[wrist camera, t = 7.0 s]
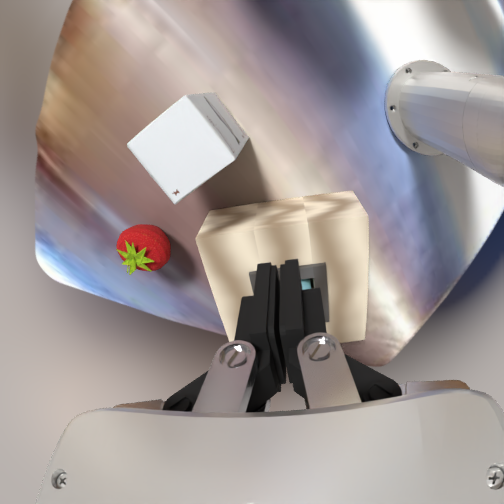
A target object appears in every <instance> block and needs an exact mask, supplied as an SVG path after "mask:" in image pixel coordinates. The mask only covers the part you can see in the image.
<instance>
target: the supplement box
mask: <svg viewBox="0 0 504 504" xmlns="http://www.w3.org/2000/svg"><path fill="white" fill-rule="evenodd" d="M248 139H249V136H248V135H247V134H246V133H245V131H244V130H243V129H242V128H241V127H240V125H239V124H238V123H237V121H236V120H235V119H234V118H233V116H232V115H231V114H230V112H229V111H228V109H227V108H226V107H225V106H224V104H223V103H222V101H221V100H220V99H219V97H218V96H217V94H216V93H202V94H191V95H184V96H183V97H182V98H181V99H180V100H178V101H177V102H176V103H175V104H173V105H172V106H171V107H170V108H168V109H167V110H166V111H165V112H163V113H162V114H161V115H160V116H158V117H157V118H156V119H155V120H154V121H152V122H151V123H150V124H149V125H148V126H147V127H145V128H144V129H143V130H142V131H141V132H140V133H139V134H137V135H136V136H135V137H134V138H133V139H132V140H131V141H130V142H129V143H128V144H127V146H128V148H129V149H130V150H131V151H132V153H133V154H134V155H135V156H136V158H137V159H138V160H139V161H140V163H141V164H142V165H143V166H144V168H145V169H146V170H147V171H148V173H149V174H150V175H151V177H152V178H153V179H154V180H155V181H156V182H157V184H158V185H159V186H160V187H161V188H162V190H163V191H164V192H165V193H166V195H167V196H168V197H169V198H170V199H171V201H172V202H173V203H174V204H177V203H178V202H180V201H181V200H182V199H183V198H185V197H186V196H187V195H189V194H190V193H191V192H193V191H194V190H195V189H197V188H198V187H199V186H201V185H202V184H203V183H205V182H206V181H207V180H209V179H210V178H211V177H213V176H214V175H215V174H217V173H218V172H219V171H221V170H222V169H223V168H225V167H226V166H227V165H229V164H230V163H232V162H233V161H234V160H236V158H237V156H238V155H239V153H240V152H241V150H242V148H243V147H244V145H245V143H246V142H247V140H248Z"/></svg>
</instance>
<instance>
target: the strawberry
mask: <svg viewBox="0 0 504 504" xmlns="http://www.w3.org/2000/svg"><path fill="white" fill-rule="evenodd" d="M170 249H171V247H170V241H169V239H168V238H167V236H166V235H165V233H164V232H163V231H162V230H161V229H160V228H159V227H157V226H154V225H142V224H140V225H135V226H133V227H131V228H128V229H126V230H125V231H123V232H122V233H121V234H120V236H119V239H118V241H117V249H116V250H117V251H118V253H119V255H120V257H121V258H122V259H123V261H124V262H123V263H122V264H124V265H128V266H130V273H129V275H131V274H132V273H133V272H134V271H135V270H136V269H138V270H143V271H150V272H151V271H154V270H158V269H160V268H161V267H163V266H164V265H165V264H166V263H167V262H168V260H169V259H170ZM127 273H128V268H127Z"/></svg>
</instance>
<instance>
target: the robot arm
mask: <svg viewBox="0 0 504 504" xmlns="http://www.w3.org/2000/svg"><path fill="white" fill-rule="evenodd" d="M406 70H407V71H408V72H407V73H406ZM390 106H392V110H390ZM385 112H386V116H387V120H388V122H389V125H390V127H391V129H392V131H393V132H394V134H395V135H396V137H397V138H398V139H399V140H400V141H401V142H402V143H403V144H404V145H405V146H407V147H408V148H410V149H411V150H413V151H415V152H417V153H420V154H423V155H428V156H436V155H441V154H446V155H448V156H450V157H452V158H453V159H455V160H457V161H459V162H461V163H462V164H464V165H466V166H468V167H469V168H471V169H473V170H474V171H476V172H478V173H479V174H481V175H483V176H484V177H486V178H488V179H490V180H491V181H493V182H494V183H496V184H498V185H501V186H503V187H504V76H502V75H491V74H479V73H461V72H451V71H450V70H449V69H447V68H446V67H444V66H443V65H441V64H438V63H436V62H433V61H428V60H419V61H412V62H409V63H407V64H405V65H403V66H402V67H400V68H399V69H397V71H396V72H395V73H394V74H393V75H392V77H391V79H390V81H389V83H388V85H387V89H386V92H385ZM413 143H414V145H413ZM286 367H287V372H288V377H289V382H290V383H293V387H294V391H295V392H296V393H297V394H299V395H300V396H302V397H303V398H304V399H305V405H306V409H304V410H292V411H276V412H269V408H270V401H271V400H270V398H271V397H272V396H274V395H275V394H276V393H277V392H281V384H285V383H286ZM36 504H504V412H503V410H502V409H501V407H500V406H499V404H498V403H497V402H496V400H494V399H493V398H492V397H491V396H490V395H488V394H486V393H484V392H480V391H476V390H470V388H469V387H468V386H467V384H466V383H463V382H462V381H459V380H444V381H409V382H406V384H398V383H396V382H395V381H394V380H392V379H390V378H388V377H386V376H384V375H383V374H381V373H379V372H377V371H375V370H373V369H371V368H369V367H368V366H366V365H364V364H362V363H360V362H358V361H356V360H355V359H353V358H351V357H349V356H347V355H345V354H344V353H343V350H342V347H341V345H340V342H339V341H338V339H337V338H336V337H334V336H333V335H331V334H328V333H327V331H326V323H325V316H324V309H323V303H322V296H321V290H320V288H312V289H304V290H302V283H301V275H300V268H299V261H298V259H291V260H285V264H280V280H279V275H278V270H277V265H272V264H271V262H268V263H260V264H257V271H256V279H255V287H254V295H253V296H243V297H242V299H241V304H240V309H239V315H238V321H237V327H236V333H235V338H234V341H231V342H228V343H226V344H224V345H223V346H222V347H220V348H219V349H218V351H217V352H216V354H215V357H214V359H213V361H212V364H211V366H210V369H209V370H208V371H207V372H206V373H205V374H203V375H201V376H200V377H198V378H197V379H196V380H194V381H193V382H191V383H190V384H188V385H187V386H185V387H184V388H182V389H181V390H179V391H178V392H176V393H175V394H173V395H172V396H171V397H170V398H168V399H167V401H162V400H161V399H158V400H151V401H144V402H135V403H126V404H120V405H116V406H114V407H113V408H102V409H95V410H91V411H87V412H84V413H82V414H80V415H77V416H76V417H75V418H74V419H72V420H71V422H70V423H69V424H68V425H67V427H66V429H65V430H64V432H63V434H62V436H61V437H60V439H59V441H58V443H57V446H56V448H55V450H54V453H53V455H52V457H51V460H50V462H49V465H48V467H47V470H46V473H45V476H44V479H43V482H42V485H41V488H40V491H39V494H38V497H37V500H36Z"/></svg>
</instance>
